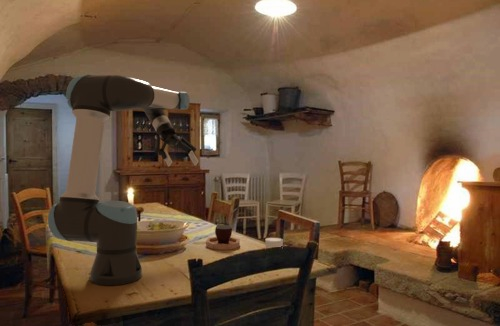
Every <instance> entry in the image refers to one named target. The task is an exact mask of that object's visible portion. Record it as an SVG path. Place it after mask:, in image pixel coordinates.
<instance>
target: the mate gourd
mask: <svg viewBox="0 0 500 326" xmlns="http://www.w3.org/2000/svg"><path fill="white" fill-rule="evenodd" d="M237 210H238V207H236V208H235V209H233V210H232V211H231V212H230V215H229V218H228V220H227V221H226V222H218V223H217V224H216V226H215V229H214V233H215V237H217V239H218V243H217V244H222V243H224V244H229V243H228V242H229V239H230V237H232V234H233V227H232V225H231V224H230V221H231V218H232V215H233V214H234V212H235V211H237Z"/></svg>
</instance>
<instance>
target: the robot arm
mask: <svg viewBox="0 0 500 326" xmlns="http://www.w3.org/2000/svg"><path fill="white" fill-rule="evenodd" d="M65 92H66V93H65V97H66V100H67V101H66V103H67V104H68V107H69V108H70V109H71V114H72V115H73V116H74V117H75V119H76V120H75V126H74V132H73V139H72V148H71V154H70V161H69V168H68V175H67V182H66V189H65V192H64V193H63V194H61V195H60V196H59V199H58V200H59V201H58V202H56V203H54V204H53V205H52V206H51V208H50V209H49V211H48V214H47V215H48V216H47V225H48V229H49V231H50V232H51V233H52V235H53V236H54V237H55V238H57V239H58V240H61V241H67V242H85V243H96V253H95V257H94V261H93V263H92V266H91V269H90V273H89V277H90V279H89V280H90V282H91V283H93V284H95V285H98V286H99V285H100V286H102V285H103V286H119V285H126V284H130V283H133V282H136V281H138V280H140V279H141V278H142V275H143V269H142V264H141V262H140V258H139V256H138V252H137V240H138V239H137V238H138V237H137V235H138V234H137V233H138V231H137V230H138V229H137V228H138V225H137V224H138V214H137V207H136V206H135V205H134V204H132V203H130V202H128V201H121V200H112V199H105V200H100V198H99V196H98V195H96V189H97V183H98V173H99V166H100V159H101V158H100V157H101V150H102V143H103V136H104V134H103V133H104V127H105V122H107V121H108V120H110V118H111V112H121V111H122V112H123V111H130V110H143V112H144V113H145V115H146V116H147V118H148V119H149V121H150V123H151V125H152V127H153V128H154V131H155V132H156V134H155V136H154V138H153V139H154V153H155V154H157V155H158V156H161V157H162V159H163V160H164V161H165V163H166V164H167V165H166V166H167V167H170V166H171V165H172V163H173V160H172V158H171V156H170V155H169V153H168V151H167V149H166V146H167V145H168V146H174V147H178V148H180V149H181V150H183V151H185V152H186V153H187V155H188V157H189V159H190V161H191V163H192V164H193V166H195V167H197V165H198V163H199V162H200V161H199V159H198V157H197V155H196V151H197V148H196V147H195V145H194V146H193V145H192V143H191V142H189V141H188V140H187V139H186V138H185V137H184V134H183V135H182V134H180V135H179V136H178V135H177V134H176V130H175V128H174V126H173V124H172V122H171V121H170V119H169V117H168V116H167V114H166V113H165V110H170V111H171V110H173V111H174V110H178V111H182V110H188V108H189V107H190V95H189V93H188V92H186V91H173V90H169V89H165V88H161V87H157V86H153V85H151V84H150V83H149V82H147V81H145V80H141V79H137V78H134V77H130V76H126V75H120V74H113V75H110V74H107V75H106V74H105V75H104V74H103V75H102V74H101V75H100V74H99V75H96V74H94V75H93V74H84V75H78V76H75V77H74V78H72V79H71V80H70V82H68V85H67V88H66V91H65ZM161 141H162V142H163V143H162V145H161Z"/></svg>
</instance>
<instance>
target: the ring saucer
mask: <svg viewBox="0 0 500 326" xmlns="http://www.w3.org/2000/svg"><path fill="white" fill-rule="evenodd" d="M217 243H218V239H217V237H216V236H213V237H207V239H206V240H205V246H206V248H208V249H211V250H217V251H229V250H236V249H238V248H240V247H241V245H240V238H236V237H233V236H231V237H230V239H229V242H228V243H229V244H224V243H222V244H217Z"/></svg>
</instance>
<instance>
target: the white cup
mask: <svg viewBox="0 0 500 326" xmlns="http://www.w3.org/2000/svg"><path fill="white" fill-rule="evenodd" d="M283 244H284V239H283V238H281V237H266V238H265V249H266V248H270V247H281V246H284V245H283Z"/></svg>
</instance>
